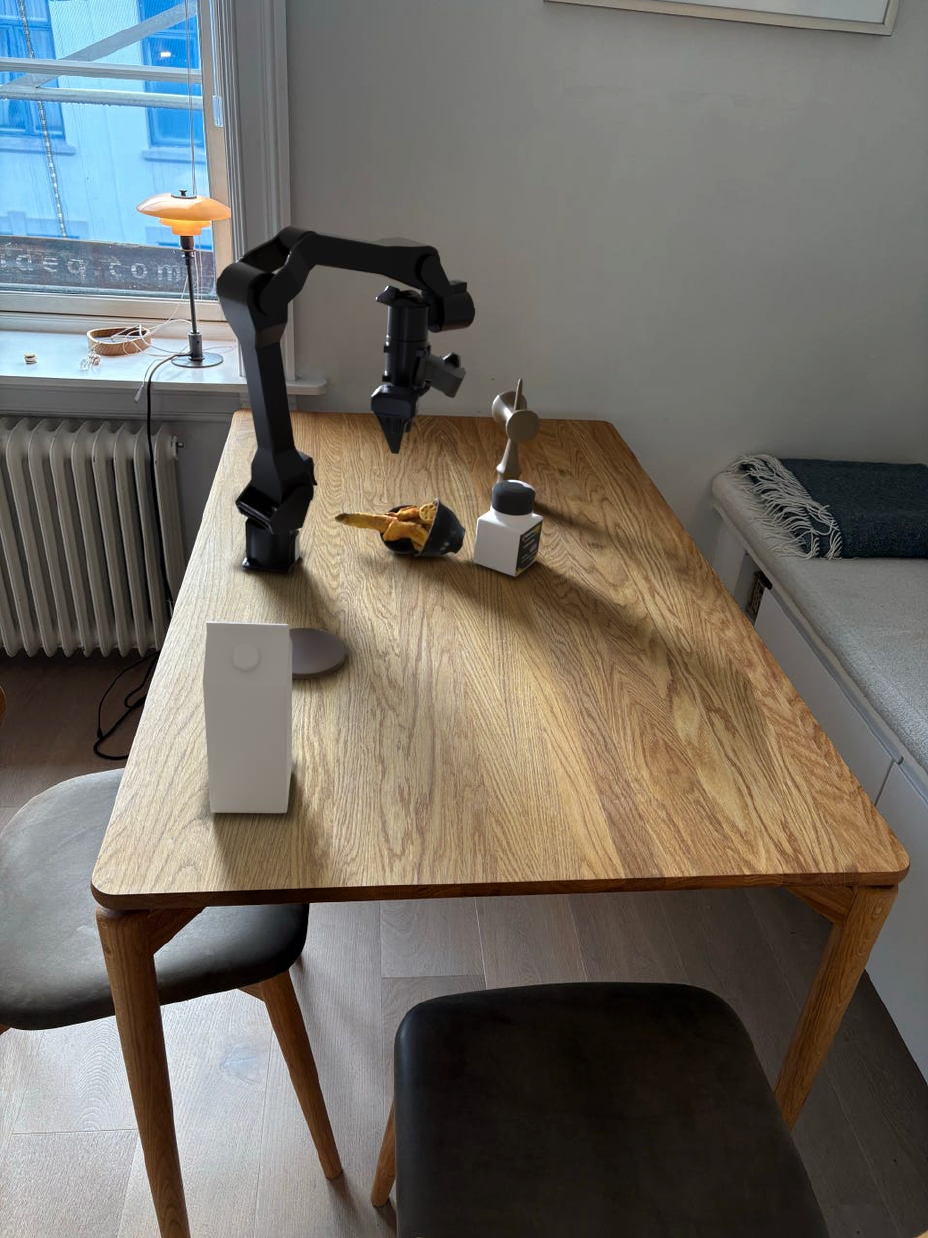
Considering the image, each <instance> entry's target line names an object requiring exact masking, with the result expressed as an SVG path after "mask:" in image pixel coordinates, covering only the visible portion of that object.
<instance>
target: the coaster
mask: <svg viewBox="0 0 928 1238" xmlns="http://www.w3.org/2000/svg"><path fill="white" fill-rule="evenodd" d="M289 635H290V637H291V640H292V680H293V679H294V680H310V679H318V678H322V677H326V676H327V675H330V674H332V673H334V672H336V671H337V670H338V669H339V668H340V667H342V665H343V663H344V662H345V661H346V660H345V659H346V646H345V644H344V642H343V641H342V640H341V639H340V638H339V637H337V635H335V634H333V633H331V632H329V631H326V630H323V629H319V628H312V627H294V628H293V627H292V628H289Z"/></svg>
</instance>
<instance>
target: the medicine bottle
mask: <svg viewBox="0 0 928 1238" xmlns="http://www.w3.org/2000/svg"><path fill="white" fill-rule="evenodd" d="M496 483H497V482H496ZM496 483H495V484H496ZM495 484H494V485H493V486H494V487H492V488H493V492H492V494H491V502H490V510H489V511H487V512H486V513H484V514H483V515H481V516H479V517H478V518H477V522H476V530H475V532H476V533H475V541H474V549H473V557H472V561H473V563H474V564H477V565H481V566H483V567H485V568H488V569H492V570H494V571H497V572H500V573H503V574H505V575H508V576H511V577H515V578H516V577H517V576H519V574H521V573H522V572H523V571H525V570H526V569H527V568H528V567H529V566H531V565H532V564H533V563H534V562H536V561H537V560H538V556H539V555H538V554H539V548H540V543H541V542H540V541H541V537H542V536H541V535H542V528H543V522H544V517H543V516H542V515H539V514H536V513H534V508H535V502H536V494H537V492H536V490H535V488H534V487H533V486H532V485H530V484H528V483H526V482H524V481H521V480H519V481H516V480H506V481H501V482H498V483H497V484H496V485H495Z"/></svg>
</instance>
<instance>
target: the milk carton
mask: <svg viewBox="0 0 928 1238" xmlns="http://www.w3.org/2000/svg"><path fill="white" fill-rule="evenodd" d="M205 622H206V624H205V625H206V637H205V638H206V639H205V650H204V662H203V672H202V690H203V691H202V692H203V707H204V709H203V710H204V724H205V725H204V726H205V727H204V728H205V741H206V758H207V759H206V760H207V776H208V792H209V793H208V794H209V795H208V796H209V810H210V812H211V813H217V814H218V813H221V814H222V813H224V814H226V813H227V814H230V813H231V814H236V813H237V814H286V813H287V812H288V807H289V806H288V804H289V795H290V785H291V777H292V768H293V678H292V640H291V637H290V635H289V629H290V623H269V622H267V623H265V622H237V621H236V622H235V621H210V620H209V621H205Z"/></svg>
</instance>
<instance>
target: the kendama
mask: <svg viewBox="0 0 928 1238" xmlns="http://www.w3.org/2000/svg"><path fill="white" fill-rule="evenodd" d="M523 383H524V382H523V379H522V378H519V380H518V383H517V388H516V391H515V390H507V391H506V390H505V391H503V392H501V393H500V394H498V395H497V396H496V397H495V399H494V400H493V403H492V406H491V413H492V417H493V419H494V422H496V423H497V424H498V425H500V426H504V427H505V433H506V436H507V437H508V439H507V444H506V447H505V451H504V454H503V457H502V459H501V462H500V463H498V465H497V466H496V471H497V473H498V474H497V475H498V476H497V479H496V482H495V484H494V485H496V484H497V483H498V482H501V481H506V480H516V481H520V476H521V475H522V474H523V472H524V471H523V468H522V467H521V465H520V456H519V455H520V454H519V444H526V443H529V442H532V441H533V440H535V438H536V437H537V436H538V435H539V431H540V429H541V424H540V423H541V420H540V417H539V416H538V414H537V413H536V412H534V411H533V410H529V409H528V401H527V399H526V396H525V395H524V394H523V385H524V384H523ZM494 485H493V487H494ZM493 487H492V488H491V491H492V493H493Z"/></svg>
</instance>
